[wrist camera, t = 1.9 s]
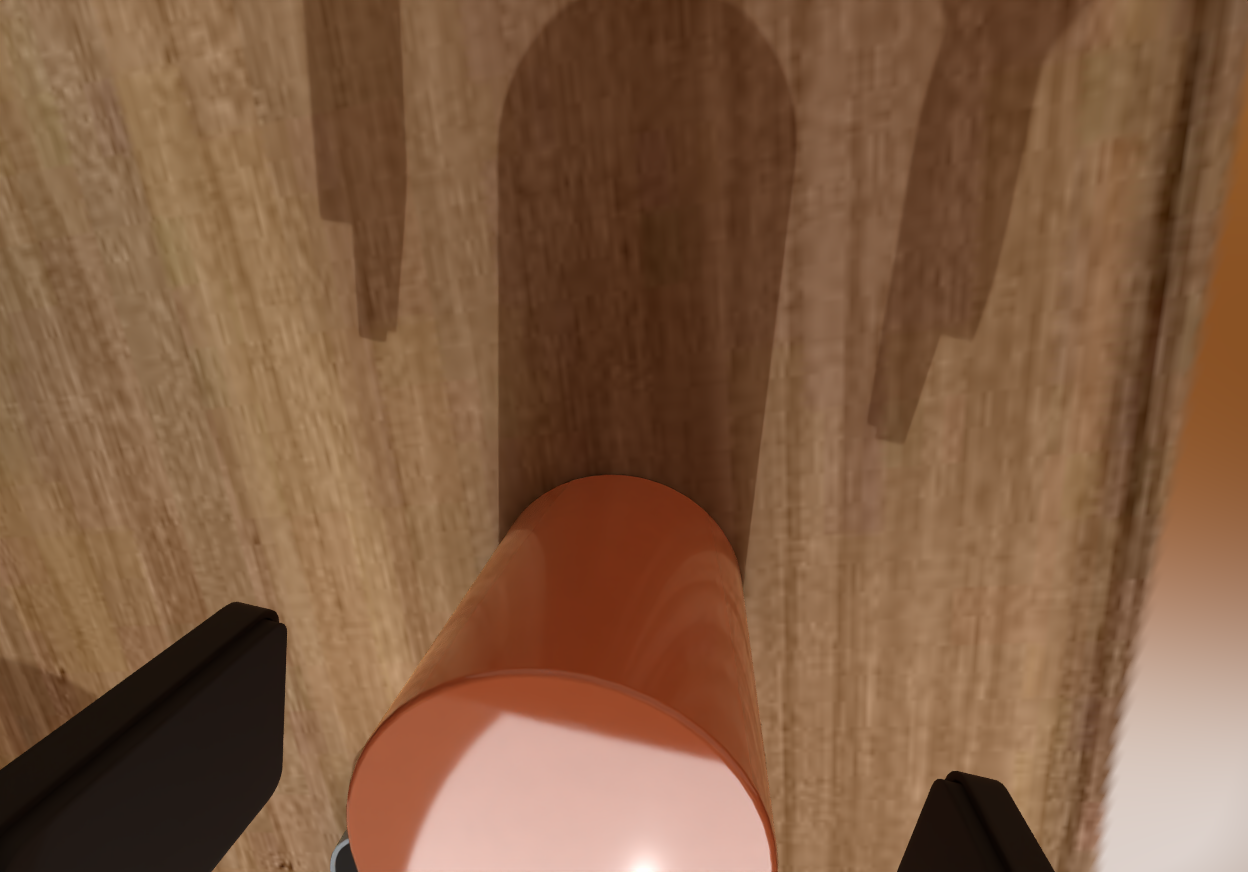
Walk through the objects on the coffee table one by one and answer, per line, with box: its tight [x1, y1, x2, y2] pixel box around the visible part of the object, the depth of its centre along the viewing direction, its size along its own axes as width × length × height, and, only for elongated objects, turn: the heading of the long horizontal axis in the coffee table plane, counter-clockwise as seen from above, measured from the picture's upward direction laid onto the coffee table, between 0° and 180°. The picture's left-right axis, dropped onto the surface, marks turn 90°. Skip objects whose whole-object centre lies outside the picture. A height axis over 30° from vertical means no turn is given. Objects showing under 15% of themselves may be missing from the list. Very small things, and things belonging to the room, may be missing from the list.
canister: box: [346, 475, 778, 872], centre depth 10 cm, size 5×5×6 cm
